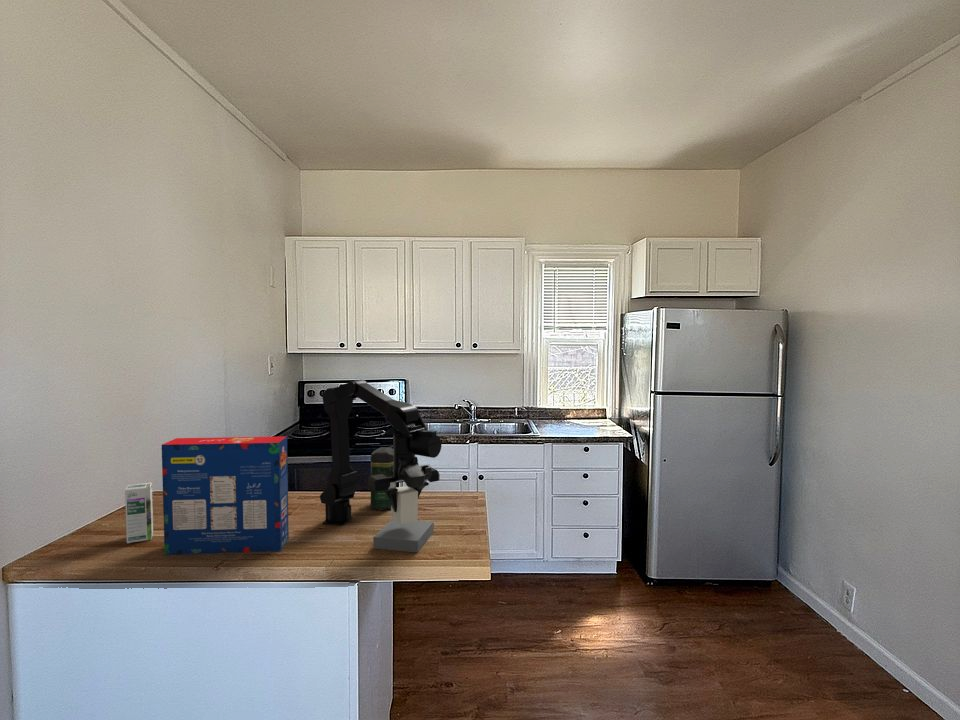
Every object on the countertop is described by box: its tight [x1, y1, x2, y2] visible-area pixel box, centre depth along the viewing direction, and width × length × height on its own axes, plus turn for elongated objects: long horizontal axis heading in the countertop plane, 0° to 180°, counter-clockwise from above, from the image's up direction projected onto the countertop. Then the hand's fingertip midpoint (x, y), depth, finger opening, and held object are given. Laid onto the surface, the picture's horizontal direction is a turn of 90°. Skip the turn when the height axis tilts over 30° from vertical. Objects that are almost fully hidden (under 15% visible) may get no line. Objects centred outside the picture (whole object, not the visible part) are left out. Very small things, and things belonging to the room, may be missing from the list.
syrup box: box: [124, 481, 154, 544], centre depth 142 cm, size 6×6×14 cm
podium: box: [373, 518, 435, 554], centre depth 142 cm, size 12×14×3 cm
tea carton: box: [390, 485, 419, 524], centre depth 141 cm, size 6×5×8 cm
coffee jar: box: [370, 446, 397, 511], centre depth 169 cm, size 10×8×19 cm
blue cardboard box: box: [161, 435, 290, 556], centre depth 136 cm, size 28×8×28 cm, turn 96°
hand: (404, 509), depth 141 cm, fingers closed on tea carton, 5 cm apart
